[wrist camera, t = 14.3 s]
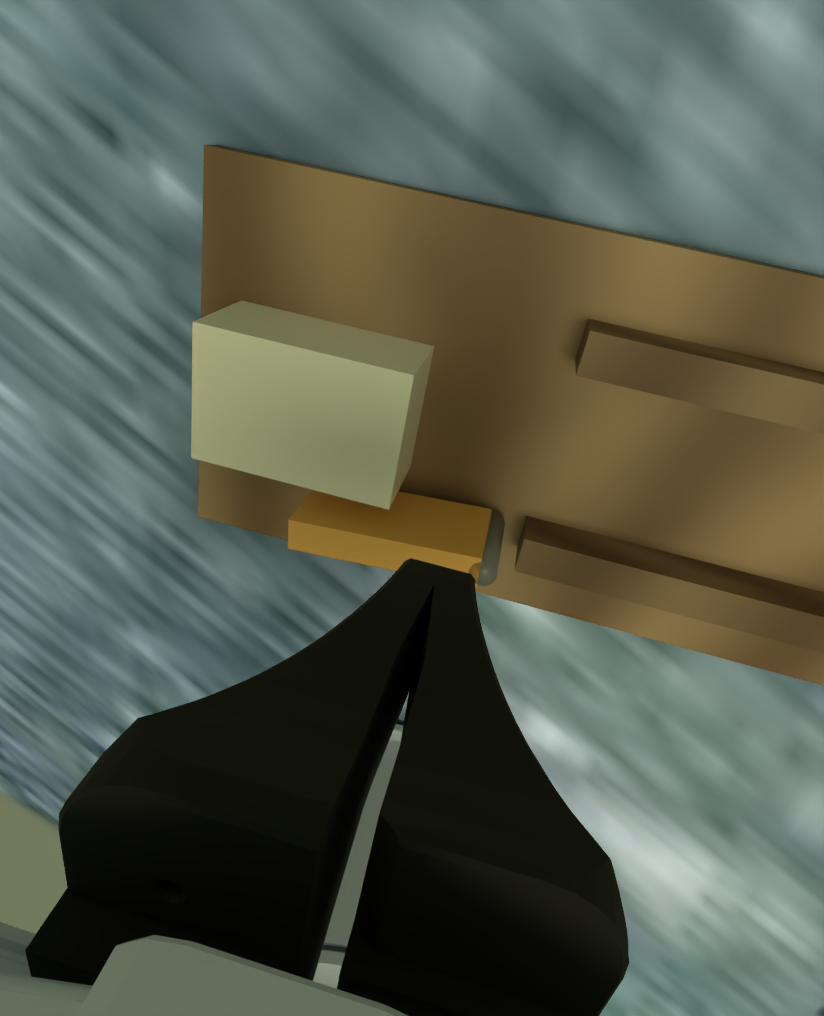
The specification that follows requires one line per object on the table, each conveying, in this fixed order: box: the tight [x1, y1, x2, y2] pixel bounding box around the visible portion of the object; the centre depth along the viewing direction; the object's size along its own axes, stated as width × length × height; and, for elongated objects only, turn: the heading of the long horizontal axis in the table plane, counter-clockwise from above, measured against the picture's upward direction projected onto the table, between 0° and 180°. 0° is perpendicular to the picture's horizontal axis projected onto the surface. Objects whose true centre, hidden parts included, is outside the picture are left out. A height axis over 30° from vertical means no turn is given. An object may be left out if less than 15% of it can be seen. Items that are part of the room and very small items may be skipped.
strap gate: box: [288, 490, 505, 588], centre depth 20 cm, size 1×6×3 cm, turn 84°
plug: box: [191, 300, 434, 510], centre depth 19 cm, size 6×4×3 cm, turn 79°
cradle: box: [198, 145, 824, 686], centre depth 19 cm, size 30×12×2 cm, turn 79°
